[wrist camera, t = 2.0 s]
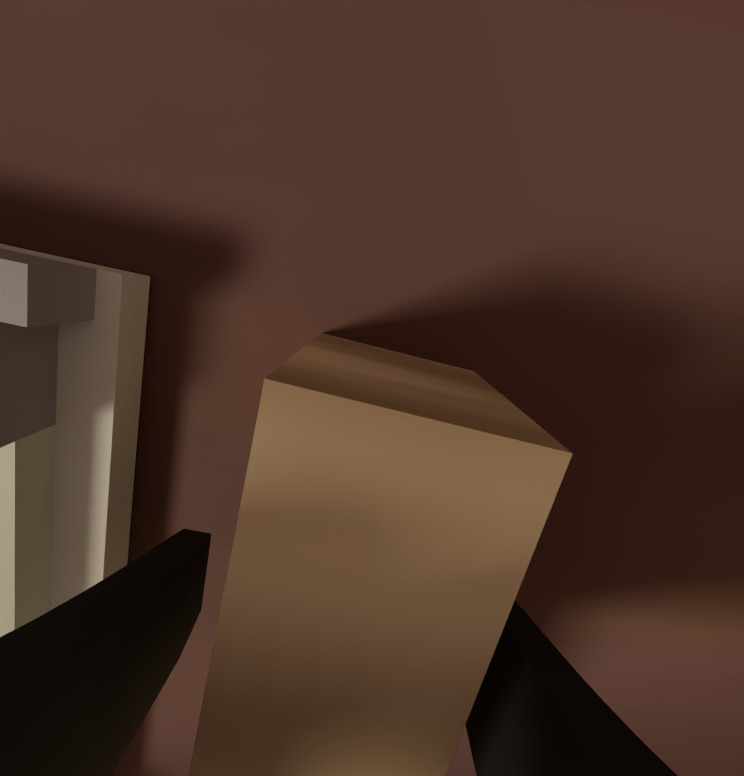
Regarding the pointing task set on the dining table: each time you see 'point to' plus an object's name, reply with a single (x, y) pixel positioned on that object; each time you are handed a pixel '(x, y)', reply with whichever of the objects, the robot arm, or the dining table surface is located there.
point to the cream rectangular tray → (65, 426)
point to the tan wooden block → (370, 565)
